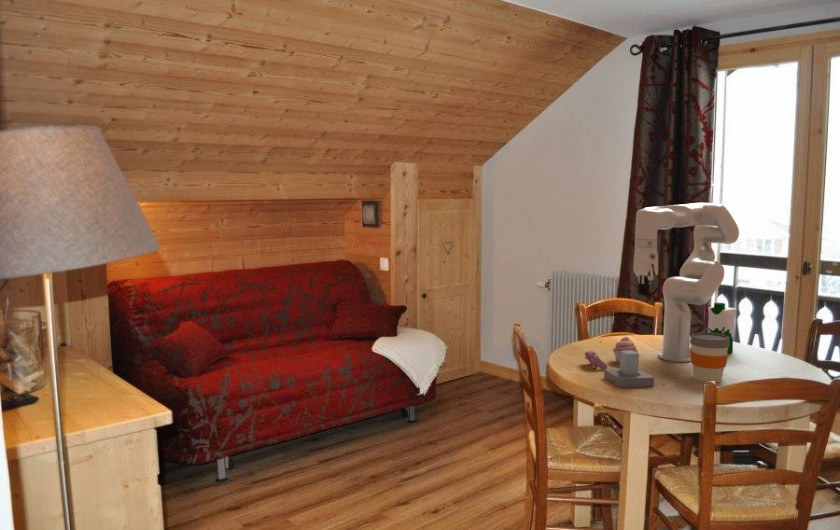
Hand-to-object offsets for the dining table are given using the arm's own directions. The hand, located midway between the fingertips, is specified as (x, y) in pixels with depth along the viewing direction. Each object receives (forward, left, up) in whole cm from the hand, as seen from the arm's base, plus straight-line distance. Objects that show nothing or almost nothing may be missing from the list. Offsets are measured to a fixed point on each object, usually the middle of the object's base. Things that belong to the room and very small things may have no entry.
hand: (643, 294), depth 247 cm
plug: (+13, +16, -27) cm, 34 cm away
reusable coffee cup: (-16, +17, -27) cm, 36 cm away
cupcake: (+2, -8, -27) cm, 29 cm away
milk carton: (-43, -16, -27) cm, 53 cm away
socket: (+13, +16, -27) cm, 34 cm away
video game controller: (+16, -4, -27) cm, 32 cm away
